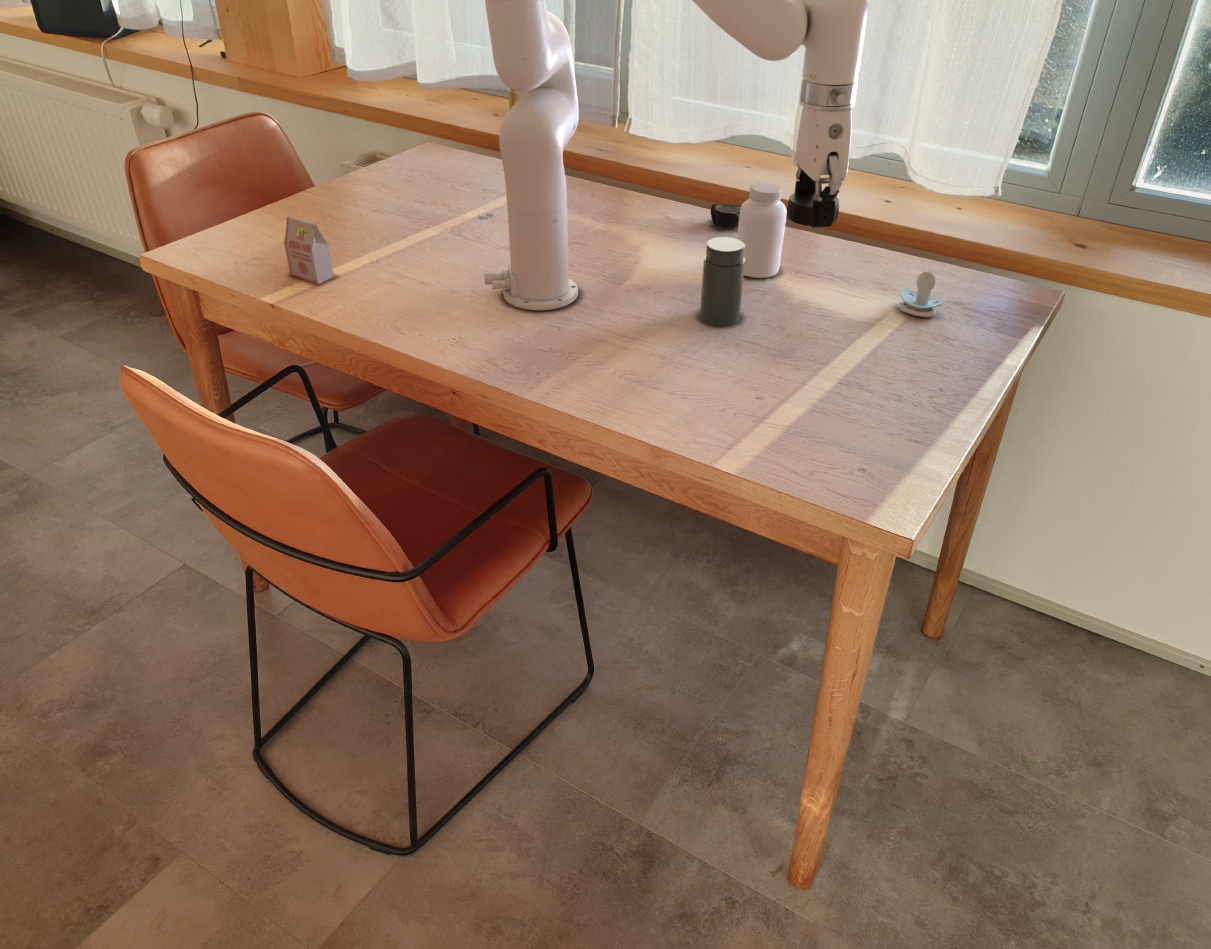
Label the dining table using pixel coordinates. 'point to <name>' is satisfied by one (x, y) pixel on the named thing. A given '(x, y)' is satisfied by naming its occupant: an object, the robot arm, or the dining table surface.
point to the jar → (722, 281)
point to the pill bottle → (762, 229)
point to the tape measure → (726, 215)
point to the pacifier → (920, 297)
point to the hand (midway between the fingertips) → (811, 215)
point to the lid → (805, 207)
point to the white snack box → (307, 252)
